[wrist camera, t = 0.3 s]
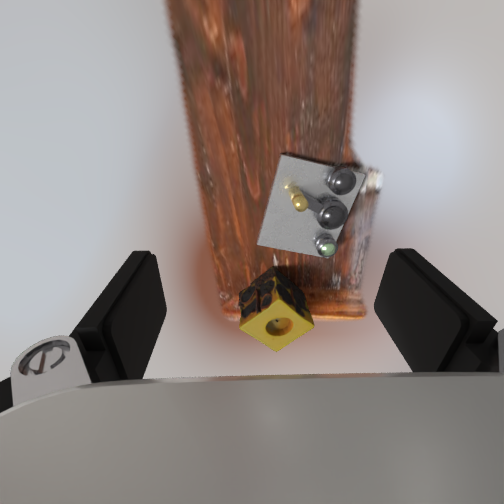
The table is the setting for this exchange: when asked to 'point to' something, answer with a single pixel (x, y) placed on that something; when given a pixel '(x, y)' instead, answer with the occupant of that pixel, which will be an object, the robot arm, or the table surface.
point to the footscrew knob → (320, 208)
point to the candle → (274, 310)
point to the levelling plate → (304, 223)
